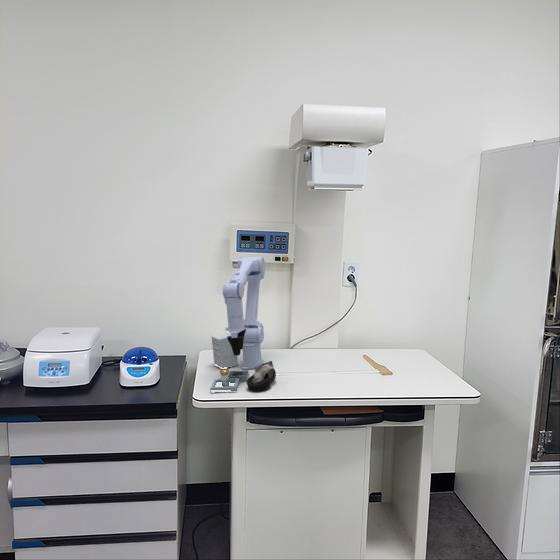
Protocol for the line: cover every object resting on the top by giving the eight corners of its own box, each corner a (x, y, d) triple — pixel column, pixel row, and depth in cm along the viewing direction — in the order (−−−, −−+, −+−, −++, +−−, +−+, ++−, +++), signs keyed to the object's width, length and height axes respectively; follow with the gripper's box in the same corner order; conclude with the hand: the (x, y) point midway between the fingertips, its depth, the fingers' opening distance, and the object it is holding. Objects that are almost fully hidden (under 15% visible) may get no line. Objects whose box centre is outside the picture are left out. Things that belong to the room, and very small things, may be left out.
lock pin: (221, 385, 178) (220, 368, 177) (230, 384, 178) (229, 368, 177) (220, 388, 175) (219, 371, 174) (229, 387, 175) (228, 371, 174)
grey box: (230, 361, 206) (227, 332, 204) (238, 366, 200) (235, 335, 198) (213, 366, 202) (210, 335, 201) (221, 370, 196) (219, 339, 194)
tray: (215, 384, 181) (214, 379, 181) (239, 382, 181) (239, 378, 180) (210, 393, 172) (210, 388, 172) (236, 392, 172) (236, 386, 171)
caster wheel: (252, 400, 170) (246, 386, 179) (283, 388, 172) (275, 375, 182) (248, 383, 168) (241, 370, 177) (279, 372, 170) (271, 359, 179)
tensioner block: (230, 376, 188) (229, 371, 188) (248, 375, 188) (248, 370, 188) (227, 382, 181) (227, 377, 181) (246, 381, 181) (246, 376, 181)
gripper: (227, 312, 188) (230, 347, 190) (221, 320, 173) (224, 358, 175) (245, 311, 187) (248, 346, 189) (241, 319, 173) (244, 357, 175)
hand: (238, 352), depth 182 cm, fingers open, 7 cm apart
